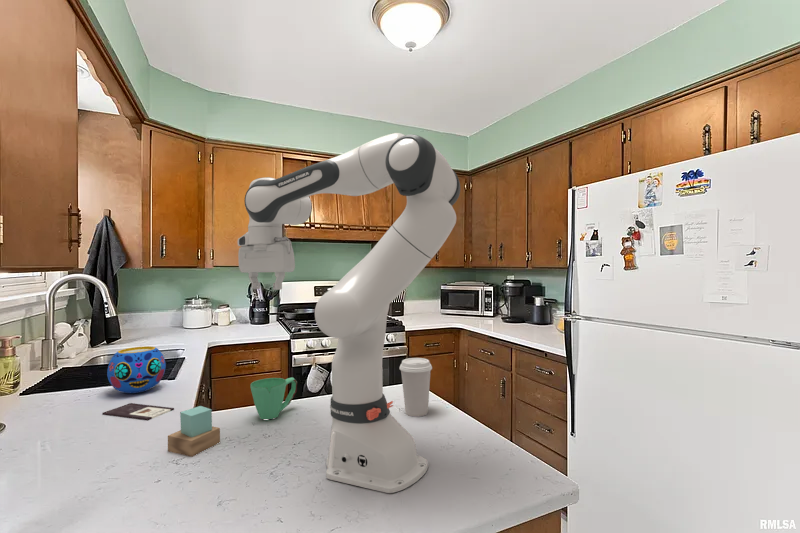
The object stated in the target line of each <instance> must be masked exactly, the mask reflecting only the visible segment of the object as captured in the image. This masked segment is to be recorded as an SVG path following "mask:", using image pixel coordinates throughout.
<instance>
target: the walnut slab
mask: <svg viewBox="0 0 800 533" xmlns="http://www.w3.org/2000/svg"><path fill="white" fill-rule="evenodd" d="M219 442H220V443H221V427H217V426H213V425H212V430H211V431H208V432H205V433H202V434H200V435H197V436H194V437H190V436H187V435H185V434H183V433H181V429H180V430H178V431H175V432H173V433H170V434H168V435H167V452H169V453H173V454H178V455H183V456H186V457H191V458H193V457H195V456H197V455H199V454H201V453H202V451H203V452H205V451H207V450H208V448H209V449H210V447H211V448H213V447H214V445H215V446H216V444H217V443H219ZM220 443H219V444H220ZM217 445H218V444H217ZM212 446H213V447H212ZM206 449H207V450H206ZM204 450H205V451H204ZM200 452H201V453H200ZM196 454H197V455H196Z"/></svg>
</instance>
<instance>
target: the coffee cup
mask: <svg viewBox="0 0 800 533" xmlns="http://www.w3.org/2000/svg"><path fill="white" fill-rule="evenodd" d="M399 370H400V373H401V382H402V383H401V384H402V391H403V392H402V393H403V400H404V401H403V402H404V410H405V414H406V416H409V417H413V418H414V417H415V418H419V417H424V416H427V415H428V413H429V403H430V402H429V400H430V386H431V385H430V383H431V371H432V370H433V366H432V364H431V361H430V359H428V358H424V357H423V358H422V357H409V358H405V359H402V360H401V363H400V365H399Z"/></svg>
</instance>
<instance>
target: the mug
mask: <svg viewBox="0 0 800 533" xmlns="http://www.w3.org/2000/svg"><path fill="white" fill-rule="evenodd" d="M288 384H291V389H290V390H289V393H288V394H287V396H286V398H285V392H286V388H287V386H288ZM249 385H250V392H251V394H252V399H253V404H254V406H255V409H256V411H257V413H258V417H259V418H260V420H261V419H273V418H276V417H277V418H278V417H279V415H280V413H281V412H283V410H284V409H286V408H287V407H288V406H289V405H290V404H291V402H292V400H293V398H294V397H295V395H296V393H297V391H298V381H297V380H296V379H295V378H294V377H288V378H286V379H284V378H282V377H269V378H262V379H261V378H260V379H258V380H254V381H253V382H251V383H250V384H249ZM284 398H285V399H284ZM277 418H276V419H277ZM273 420H274V419H273Z"/></svg>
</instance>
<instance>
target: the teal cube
mask: <svg viewBox="0 0 800 533" xmlns="http://www.w3.org/2000/svg"><path fill="white" fill-rule="evenodd" d="M212 414H213V410H212V409H211V408H209V407H205V406H202V405H199V406H195V407H192V408H188V409H186V410H183V411H180V414H179V415H180V430H181V433H183V434H185V435H187V436H190V437H194V436H197V435H200V434H202V433H205V432H208V431H211V430H212V426H213V415H212Z"/></svg>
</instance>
